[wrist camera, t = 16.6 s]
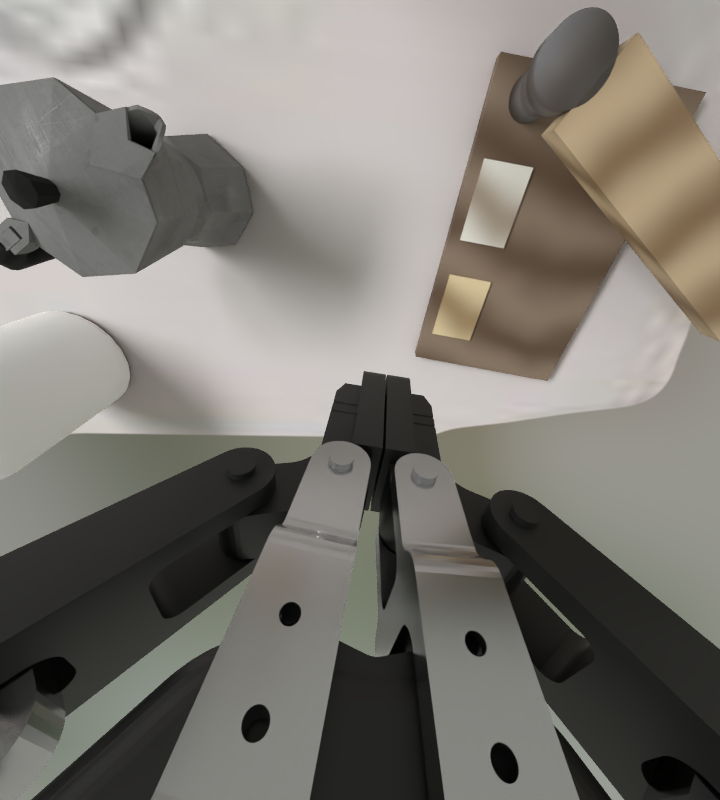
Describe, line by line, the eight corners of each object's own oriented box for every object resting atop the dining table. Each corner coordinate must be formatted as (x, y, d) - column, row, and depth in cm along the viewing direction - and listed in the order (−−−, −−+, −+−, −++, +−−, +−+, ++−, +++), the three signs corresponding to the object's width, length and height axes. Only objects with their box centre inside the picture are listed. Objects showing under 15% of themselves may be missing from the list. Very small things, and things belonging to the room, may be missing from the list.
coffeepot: (227, 90, 26) (-5, -64, 11) (290, 210, 30) (186, 221, 15) (105, 191, 31) (-177, 183, 16) (174, 283, 35) (5, 348, 20)
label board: (496, 58, 24) (525, 17, 18) (692, 96, 24) (776, 67, 19) (415, 352, 37) (418, 377, 31) (543, 375, 37) (568, 405, 31)
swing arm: (505, 91, 20) (515, 81, 18) (580, -7, 18) (600, -29, 16) (700, 333, 27) (721, 342, 25) (773, 284, 24) (801, 291, 23)
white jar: (13, 303, 38) (-293, 386, 21) (115, 314, 37) (-112, 408, 21) (58, 393, 45) (-147, 510, 28) (145, 403, 44) (-9, 529, 27)
